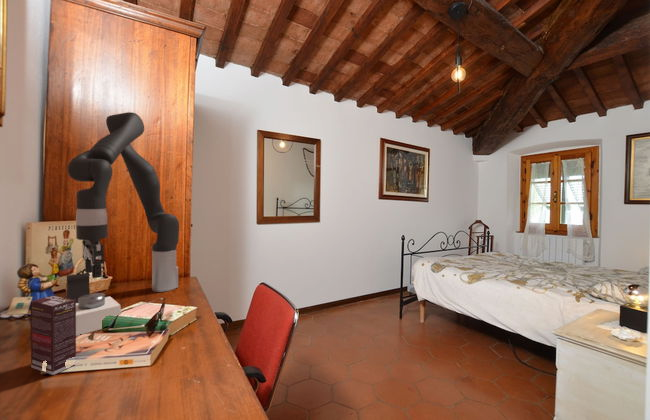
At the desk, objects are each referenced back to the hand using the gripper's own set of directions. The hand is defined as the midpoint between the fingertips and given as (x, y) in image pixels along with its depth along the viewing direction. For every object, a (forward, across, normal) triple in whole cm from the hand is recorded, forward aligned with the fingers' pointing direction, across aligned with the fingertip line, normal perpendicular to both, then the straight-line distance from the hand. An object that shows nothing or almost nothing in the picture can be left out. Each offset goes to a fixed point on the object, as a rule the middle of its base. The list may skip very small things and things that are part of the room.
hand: (93, 274), depth 88 cm
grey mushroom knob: (+15, 0, +1) cm, 15 cm away
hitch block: (+16, 0, 0) cm, 16 cm away
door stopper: (+16, +21, 0) cm, 27 cm away
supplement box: (+16, -20, +12) cm, 28 cm away
